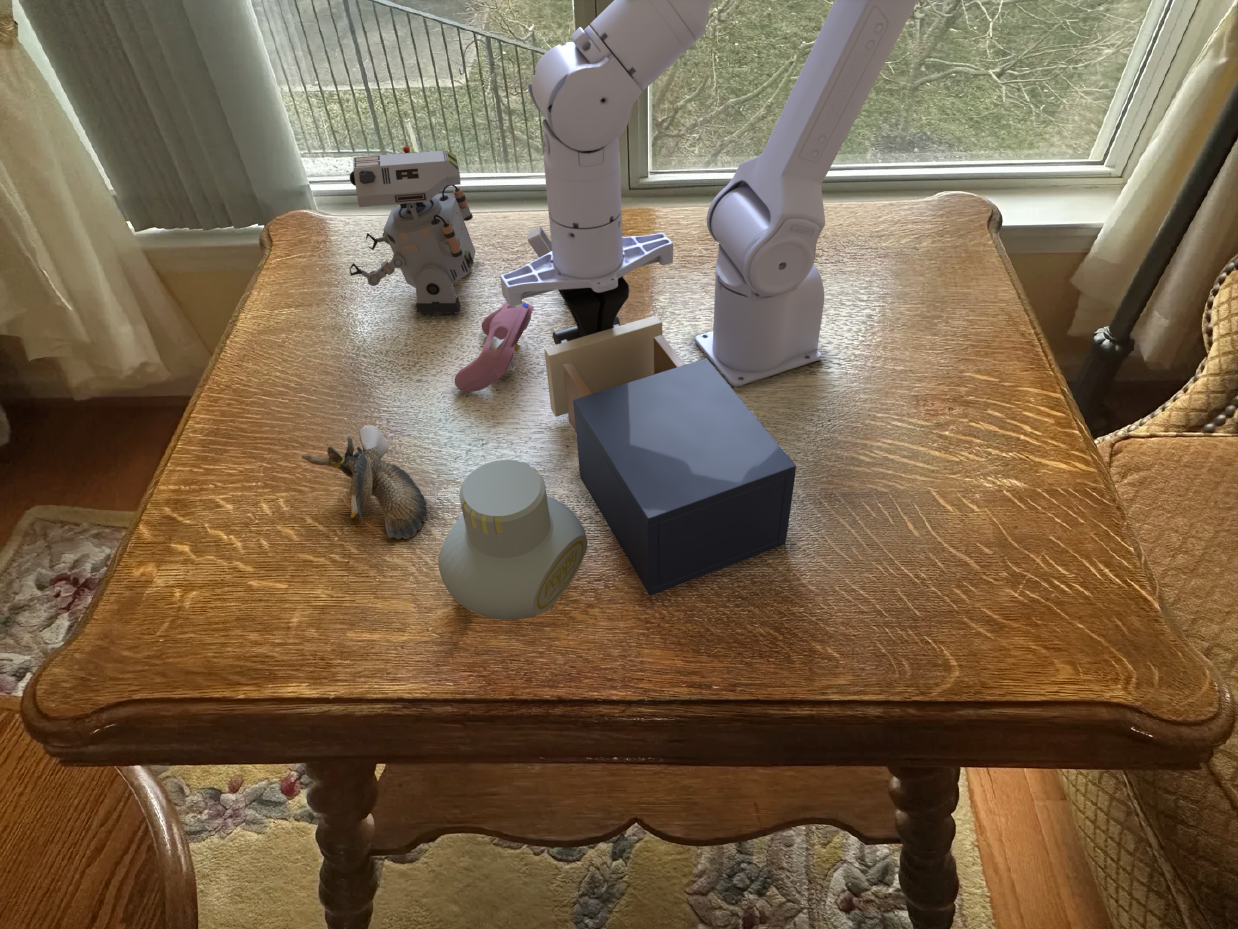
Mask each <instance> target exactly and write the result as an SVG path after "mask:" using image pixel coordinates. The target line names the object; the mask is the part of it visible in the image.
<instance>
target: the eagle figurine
mask: <svg viewBox="0 0 1238 929" xmlns="http://www.w3.org/2000/svg"><path fill="white" fill-rule="evenodd" d="M358 434H359V435H358V436H359V440H360V443H361V446H357V447H356V452H355V453H354V451H355V446H354V440H353V438H352V437H351V436H349V435H348V436H347V447H346V451H345V452H344V456H341V454H340V453H339V452H338V451H337V450H336V449H335V448H334V447H333V446H331V445H328V447H327V450H326V452H327V456H328V457H318V456H313V455H310V454H302V455H301V458H302V459H303V460H305V461H307V462H308V463H310V464H312V465H317V466H326V467H330V468H333V469H338V470H339V471H342V473H343V474H344V475H346V477H348V478H350V479H351V484H350V485H351V486H350V491H351V493H350V495H351V501H350V508H351V515H350V518H351V519H354V518H355V517H356V515H357V516H358V521H359V523H361V524H362V523H363V515H364V512H365V509H366V507H367V505H368V503H369V502H370V501H371V500H370V499H371V497H372V496H373V497H375V498H376V500H377V501H378V503H379V506H380V508H381V510H382V513H383V516H384V519H383V520H384V526H385V532H386V535H387V537H388V538H389V539H392V538H394V539H396V540H401V539H404V540H409V539H410V538H411V537H415V536H416V535H417V531H420V530H421V529H422V525H423V524H422V522H425V521H426V517H425V516H426V515H428V507H427V501H426V500H425V495H423V493H422V491H421V490H420V488H419V487H418V485H416V482H415V481H414V480H413V479H412V478H411V476H410V475H409V474H408V473H407V472H406V471H405V470H404V469H402V468H401V467H400V466H397V465H395V464H391V463H390V462H386V461H385V460H382V458H383V457H384V456H385V455H386V454H387V453H388V452H389V444H388V441H387V439H386V438H385V436H384V433H383V432H382V430H380V428H379V427H378V426H377V425H376V426H375V425H372V424H370V425H369V424H368V425H365V426H363V427H361V428H360V430H359V433H358Z"/></svg>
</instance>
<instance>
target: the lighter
mask: <svg viewBox="0 0 1238 929" xmlns="http://www.w3.org/2000/svg"><path fill="white" fill-rule="evenodd" d="M527 242H528V244H529V246H530V247H531V248H532V250H533V251H534V252H535V255H537V258H540V257H542V256H544V255H546V254H548V253H549V252H551V251H552V245H551V238H549V237H548V235H547V233H546V232H545V231H544V229H543V227H542V226H538V227H536V228H534V229H532V230H530V231H528V234H527ZM563 302H564V304H566V302H565V301H564V300H563Z"/></svg>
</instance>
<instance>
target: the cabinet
mask: <svg viewBox="0 0 1238 929" xmlns="http://www.w3.org/2000/svg"><path fill="white" fill-rule="evenodd" d="M573 406H574V417H575V428H576V433H575V436H576V437H575V438H576V448H577V456H578V457H577V458H578V459H577V460H578V469H579V478H580V480H581V481H582V483H583V485H584V486H585V488H586V490H587V492H588V493H589V495H590V497H591V499H592V500H593V502H594V504H595V505H596V507H597V509H598V511H599V512H600V514H601V516H602V518H603V519H604V521H605V523H606V524H607V526H608V528H609V530H610V531H611V533H612V535H613V536H614V538H615V540H616V542H617V543H618V545H619V547H620V548H621V550H622V552H623V553H624V555H625V557H626V559H627V561H628V563H629V564H630V565H631V567H632V569H633V571H634V572H635V574H636V576H637V577H638V579H639V581H640V583H641V585H642V586H643V588H644V590H645V591H646V594H648V596H649V597H652V596H654V595H657V594H660V593H662V592H664V591H667V590H670V589H673V588H675V587H677V586H681V585H683V584H685V583H688V582H691V581H693V580H697V579H699V578H702V577H703V576H706V575H709V574H712V573H714V572H717V571H720V570H723V569H725V568H727V567H730V566H733V565H735V564H737V563H741V562H744V561H746V560H749V559H751V558H754V557H757V556H759V555H761V554H764V553H766V552H770V551H772V550H775V549H777V548H779V547H782V546H785V545H786V543H787V539H788V538H787V537H788V532H789V525H790V517H791V509H792V502H793V496H794V495H793V494H794V489H795V488H794V487H795V480H796V472H797V465H796V464H795V462H794V461H793V460H792V459H791V457H790V456H789V455H788V454H787V453H786V451H785V450H784V449H783V448H782V447H781V445H780V444H779V443H778V442H777V441H776V439H775V438H774V437H773V436H772V434H771V433H770V432H769V431H768V430H767V429H766V427H765V426H764V425H763V423H761V421H760V420H759V419H758V417H757V416H756V415H755V414H754V412H752V410H751V409H750V408H749V407H748V405H747V404H746V403H745V402H744V400H743V399H742V398H741V397H740V396H739V395H738V394H737V392H736V391H735V390H734V388H732V385H731V384H730V383H729V382H728V381H727V379H726V378H725V377H724V376H723V375H722V373H721V372H720V371H719V370H718V369H717V367H716V366H715V365H714V364H713V362H712V361H711V360H710V359H709V358H708V357H705V358H702V359H699V360H696V361H692V362H689V363H685V365H683V366H680V367H676V368H673V369H670V370H667V371H664V372H661V373H657V374H654V375H651V376H648V377H645V378H641V379H638V380H635V381H632V382H629V383H626V384H622V385H619V386H616V387H613V388H610V389H606V390H603V391H600V392H597V393H594V394H591V395H587V396H584V397H581V398H578V399H575V400H573Z"/></svg>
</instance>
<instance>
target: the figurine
mask: <svg viewBox="0 0 1238 929" xmlns="http://www.w3.org/2000/svg"><path fill="white" fill-rule="evenodd" d="M402 151H403V153H393V154H379V155H366V156H353V157H352V166H353V167H352V168H353V171H351V172H350V174H349V181H350V183H351V184H352V185H353V186H355V191H356V198H357V203H358V207H359V208H365V207H380V206H391V205H395V206H394V207H393V208H392V209H391V211H390V212H389V215H388V218H387V220H386V222H385V224H384V227H383V232H382V236H380V237H379V236H378V237H374V236H372V235H371V234H370V233H369V232H367V233H366V236H365V241H367V240H368V238H370V239H371V240H372V241H373V244H372V247H371V246H368V245H367V247H368V248H369V249H370V250H372V251H374V250H375V248H376V247H377V244H378V243H385V244H387V245H389V247H390V249H391V251H392V253H393V255H392V258H391V260H390V261H388V260H385V261H383V262H382V264H381V265H380V267H378V268H377V269H375V270H371V271H370V272H368V271H365V270H364V269H360V268H359V267H358V266H357V265H356V264H355V263H354V262H353V263H351V266H350V267H349V274H350V277H351V276H352V277H353V276H356V275H361V276H362V277H364V278H366V279H367V283H368V285H369V286H371V287H375V286H378V285H379V284H380V282H381V280H382V279H384V278H386V277H387V276H391V275H392V274H393V273H395V271H396V269H400V271H401V273H402V276H403V277H404V280H405V283H406V284H407V285H409V286H411V287H413V288H414V289H415V295H416V303H415V304H416V306H415V307H416V313H417V314H420V315H421V316H426V315H427V314H428V315H429V316H434V315H435V314H441V315H442V316H447V315H448V314H449V315H450V316H455V315H456V314H458V313H460V311H461V307H462V305H461V304H462V303H461V302H460V299H459V296H457V293H456V291H455V290H456V289H455V287H454V284H455V283H457V282H458V281H459V280H461V279H463V278H464V277H466V276H467V275H469V274H471V271H472V268H473V265H474V263H475V255H476V252H477V251H476V248H475V247H474V246H475V245H474V243H473V240H472V238H471V235H470V233H469V231H468V227H467V225H466V222H468V221H470V220H472V219H473V218H474V216H473V213H472V212H471V209H470V207H469V204H468V201H467V197H466V195H465V193H464V191H463V188H462V187H457V186H458V185H459V186H460V185H462V184H461V183H462V182H461V174H460V168H459V162H458V158H457V155H455V154H454V153H452V152H450V151H448V150H446V149H445V150H435V151H434V150H433V151H420V152H419V151H418V152H417V151H415V152H410V151H411V148H410V147H409V146H407V145H405V146H404V147H402ZM449 187H453V188H455V189H453V191H452V193H453V195H454V196H452V195H450V194H448V193H445V190H446V189H447V188H449ZM440 192H442V193H440ZM353 267H354V269H355V270H356V271H353V272H352V270H351V269H352V268H353Z"/></svg>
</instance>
